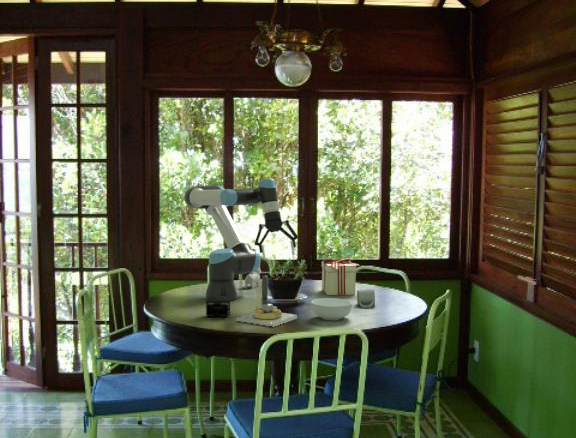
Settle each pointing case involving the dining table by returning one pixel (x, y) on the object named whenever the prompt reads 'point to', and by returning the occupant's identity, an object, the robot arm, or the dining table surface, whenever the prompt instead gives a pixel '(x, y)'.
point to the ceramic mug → (366, 298)
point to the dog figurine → (253, 278)
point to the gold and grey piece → (259, 312)
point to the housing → (267, 322)
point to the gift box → (339, 277)
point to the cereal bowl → (331, 308)
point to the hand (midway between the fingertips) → (279, 257)
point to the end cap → (217, 309)
